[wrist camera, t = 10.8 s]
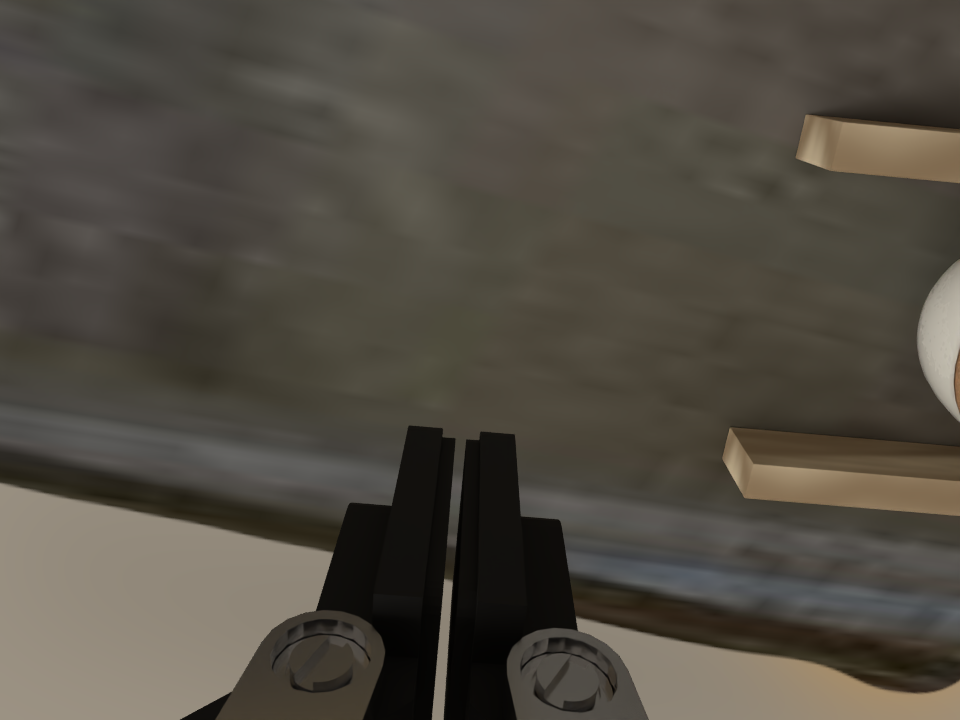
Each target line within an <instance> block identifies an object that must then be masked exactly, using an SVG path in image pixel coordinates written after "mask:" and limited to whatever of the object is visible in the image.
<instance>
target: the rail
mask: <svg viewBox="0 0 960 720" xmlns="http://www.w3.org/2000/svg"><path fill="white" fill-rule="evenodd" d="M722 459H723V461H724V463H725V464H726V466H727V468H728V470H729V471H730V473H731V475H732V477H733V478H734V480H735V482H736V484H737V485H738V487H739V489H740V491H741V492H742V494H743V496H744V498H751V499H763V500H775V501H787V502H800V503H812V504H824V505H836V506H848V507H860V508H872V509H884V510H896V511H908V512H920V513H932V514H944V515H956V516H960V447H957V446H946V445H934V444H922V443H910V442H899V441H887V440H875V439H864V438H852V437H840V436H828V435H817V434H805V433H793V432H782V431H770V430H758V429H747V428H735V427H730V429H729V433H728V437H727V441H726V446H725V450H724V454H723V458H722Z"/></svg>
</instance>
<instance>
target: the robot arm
mask: <svg viewBox="0 0 960 720" xmlns="http://www.w3.org/2000/svg"><path fill="white" fill-rule="evenodd" d="M442 435H443V428H432V427H420V426H409V427H408V431H407V436H406V441H405V445H404V450H403V455H402V460H401V464H400V469H399V474H398V479H397V484H396V488H395V493H394V498H393V503H392V506H386V505H374V504H362V503H350V504H349V505H348V508H347V511H346V514H345V517H344V521H343V524H342V527H341V530H340V534H339V537H338V540H337V544H336V547H335V550H334V553H333V557H332V560H331V563H330V567H329V570H328V573H327V576H326V580H325V583H324V586H323V590H322V593H321V596H320V599H319V603H318V606H317V609H316V611H314V612H308V613H303V614H300V615H298V616H295V617H292V618H289V619H287V620H286V621H284V622H283V623H281V624H280V625H278V626H277V627H275V628H274V629H272V630H271V632H270V633H269V634H268V635H267V636H266V638H265V639H264V640H263V641H262V642H261V644H260V646H259V647H258V649H257V651H256V652H255V654H254V656H253V657H252V659H251V661H250V663H249V664H248V666H247V668H246V669H245V671H244V673H243V674H242V676H241V678H240V680H239V681H238V683H237V684H236V686H235V688H234V689H233V691H232V692H230V693H229V694H227V695H225V696H223V697H221V698H219V699H217V700H216V701H214V702H212V703H210V704H208V705H206V706H204V707H203V708H201V709H199V710H197V711H195V712H193V713H192V714H190V715H188V716H186V717H184V718H182V719H180V720H432V709H433V699H434V687H435V676H436V665H437V654H438V642H439V631H440V620H441V608H442V596H443V584H444V573H445V560H446V548H447V536H448V524H449V512H450V499H451V487H452V475H453V463H454V451H455V438H444V437H442ZM444 720H649V719H648V717H647V714H646V712H645V710H644V707H643V705H642V702H641V700H640V698H639V695H638V693H637V691H636V688H635V686H634V683H633V681H632V678H631V676H630V674H629V671H628V669H627V668H626V666H625V664H624V663H623V661H622V660H621V658H620V656H619V655H618V654H617V653H616V652H614V651H613V650H612V649H611V648H610V647H609V646H608V645H607V644H605V643H604V642H602V641H600V640H598V639H596V638H595V637H593V636H591V635H589V634H585V633H582V632H579V631H578V630H577V623H576V616H575V610H574V603H573V597H572V590H571V584H570V577H569V571H568V565H567V558H566V552H565V545H564V539H563V532H562V526H561V522H560V521H559V520H558V519H546V518H533V517H521V514H520V500H519V486H518V472H517V458H516V443H515V435H514V434H503V433H491V432H480V439H479V440H467V439H466V448H465V459H464V469H463V480H462V491H461V501H460V512H459V522H458V533H457V544H456V554H455V565H454V575H453V587H452V600H451V615H450V630H449V645H448V662H447V677H446V691H445V706H444Z"/></svg>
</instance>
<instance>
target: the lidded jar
mask: <svg viewBox="0 0 960 720" xmlns="http://www.w3.org/2000/svg"><path fill="white" fill-rule="evenodd" d="M917 348H918V356H919V360H920V364H921V367H922V370H923V373H924V376H925V378H926V379H927V381H928V383H929V385H930V387H931V388H932V390H933V392H934V393H935V395H936V397H937V398H938V399H939V400H940V401H941V403H942V404H943V405H944V406H945V407H946V408H947V410H948V411H949V412H950V413H951V414H952V415H953V417H954V418H955V419H956V420H957V421H959V422H960V259H959V260H957V261H956V262H955V263H954V264H953V265H952V266H951V267H950V268H949V269H948V270H947V271H946V272H945V273H944V274H943V275H942V276H941V277H940V279H939V280H938V281H937V283H936V284H935V285H934V286H933V288H932V290H931V292H930V293H929V295H928V297H927V299H926V301H925V304H924V306H923V309H922V311H921V315H920V320H919V324H918V331H917Z"/></svg>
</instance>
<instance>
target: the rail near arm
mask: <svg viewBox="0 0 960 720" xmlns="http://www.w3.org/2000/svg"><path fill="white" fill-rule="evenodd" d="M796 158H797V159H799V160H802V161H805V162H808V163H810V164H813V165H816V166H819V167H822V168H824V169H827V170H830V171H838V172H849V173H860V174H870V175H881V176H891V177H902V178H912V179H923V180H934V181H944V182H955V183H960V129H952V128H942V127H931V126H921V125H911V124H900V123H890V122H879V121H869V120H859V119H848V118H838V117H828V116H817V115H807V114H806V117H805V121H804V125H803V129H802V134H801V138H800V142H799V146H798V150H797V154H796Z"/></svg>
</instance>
